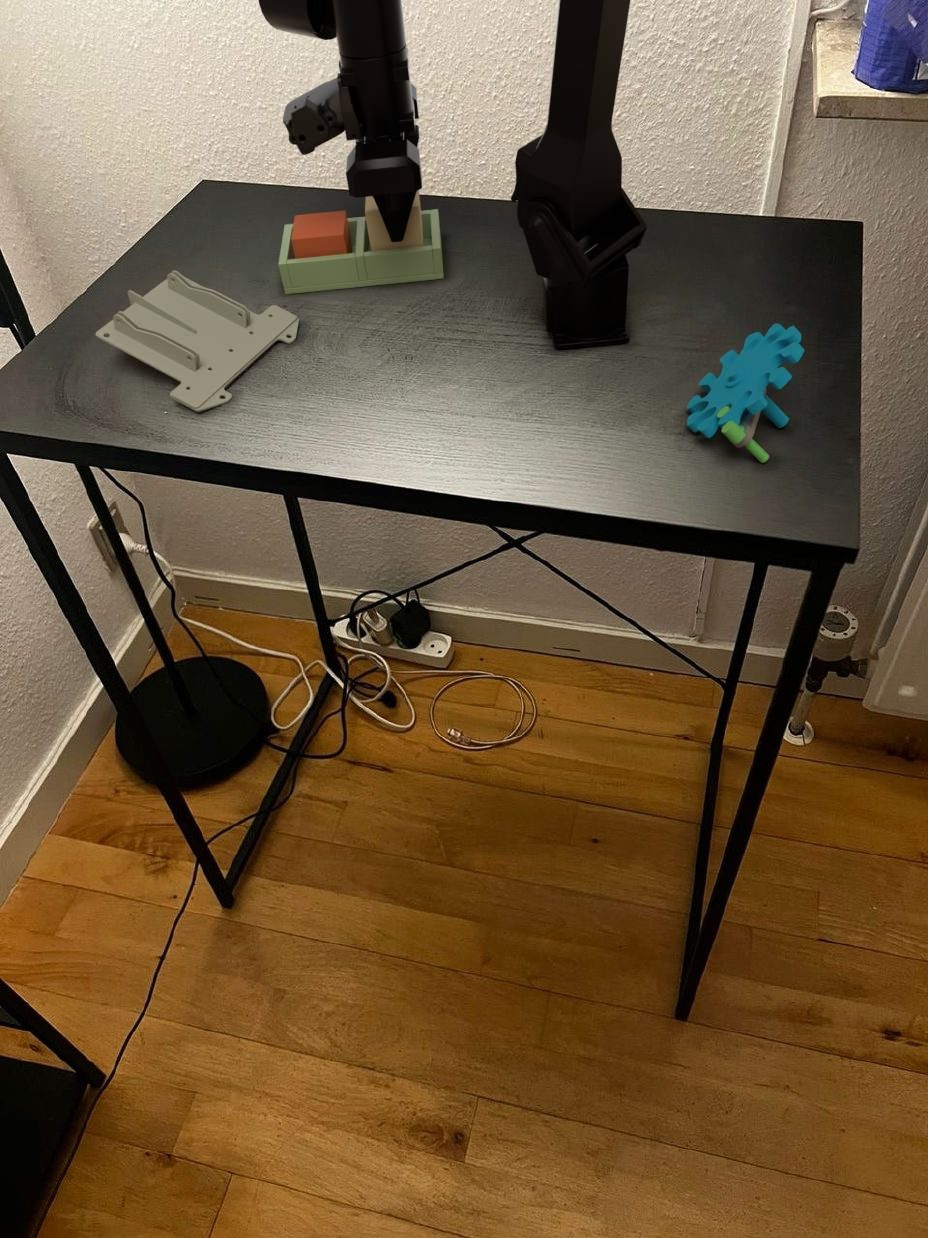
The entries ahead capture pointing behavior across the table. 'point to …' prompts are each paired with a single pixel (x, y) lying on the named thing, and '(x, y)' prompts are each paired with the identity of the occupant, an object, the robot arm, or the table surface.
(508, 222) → the table surface
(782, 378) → the gear
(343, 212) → the terracotta block
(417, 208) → the tan block
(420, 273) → the green divided tray
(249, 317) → the metal bracket
